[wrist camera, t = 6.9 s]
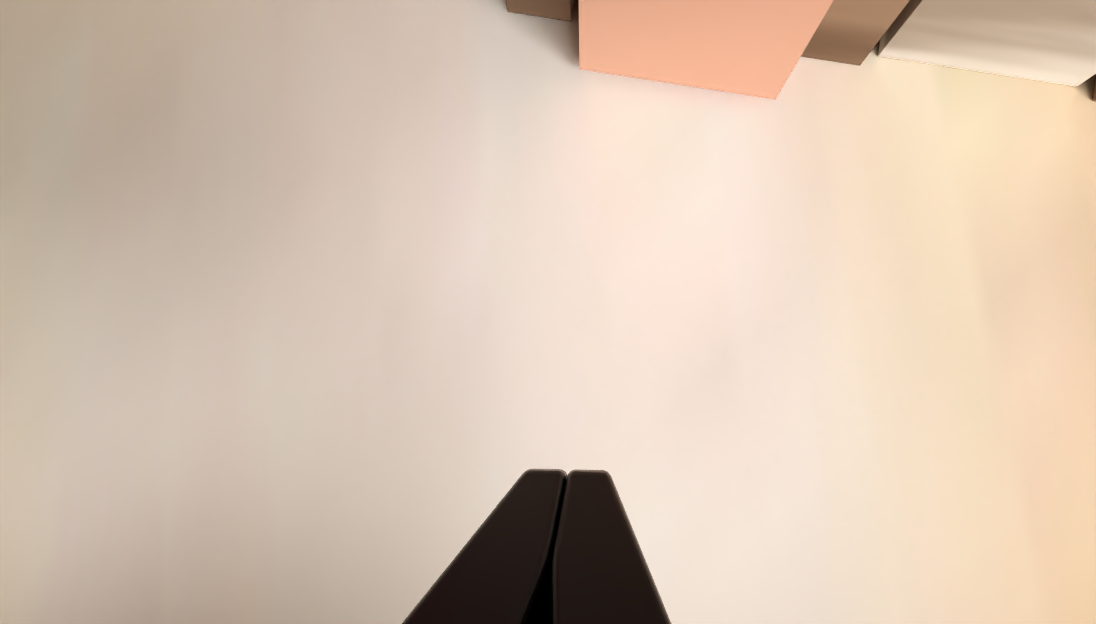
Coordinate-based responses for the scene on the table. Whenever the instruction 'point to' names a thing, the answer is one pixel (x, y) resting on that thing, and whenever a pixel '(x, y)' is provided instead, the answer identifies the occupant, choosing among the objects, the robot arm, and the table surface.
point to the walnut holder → (944, 34)
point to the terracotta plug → (699, 41)
